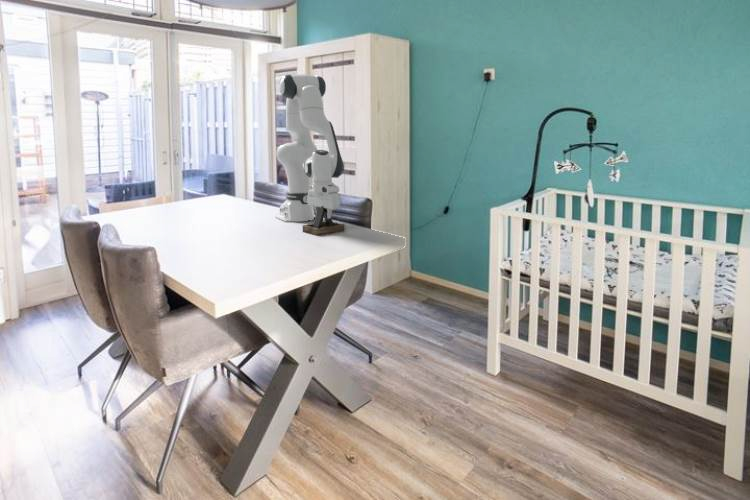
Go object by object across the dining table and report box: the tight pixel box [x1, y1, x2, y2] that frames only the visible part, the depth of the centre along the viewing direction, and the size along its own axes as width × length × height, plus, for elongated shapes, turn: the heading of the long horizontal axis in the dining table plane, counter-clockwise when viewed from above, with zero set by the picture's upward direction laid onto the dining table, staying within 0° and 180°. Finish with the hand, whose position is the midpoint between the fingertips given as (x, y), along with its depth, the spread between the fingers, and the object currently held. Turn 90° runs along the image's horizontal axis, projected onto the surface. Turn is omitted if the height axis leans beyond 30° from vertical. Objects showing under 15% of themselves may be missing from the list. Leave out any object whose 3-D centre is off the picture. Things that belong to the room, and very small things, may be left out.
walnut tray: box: [302, 221, 346, 237], centre depth 241 cm, size 12×15×3 cm
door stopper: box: [312, 206, 334, 229], centre depth 240 cm, size 9×6×12 cm, turn 117°
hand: (323, 217), depth 240 cm, fingers closed on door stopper, 6 cm apart
